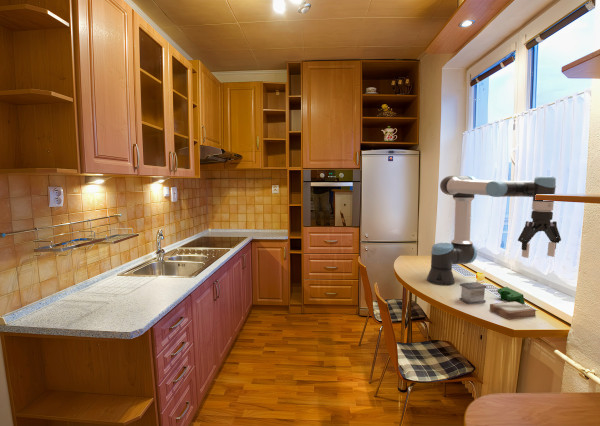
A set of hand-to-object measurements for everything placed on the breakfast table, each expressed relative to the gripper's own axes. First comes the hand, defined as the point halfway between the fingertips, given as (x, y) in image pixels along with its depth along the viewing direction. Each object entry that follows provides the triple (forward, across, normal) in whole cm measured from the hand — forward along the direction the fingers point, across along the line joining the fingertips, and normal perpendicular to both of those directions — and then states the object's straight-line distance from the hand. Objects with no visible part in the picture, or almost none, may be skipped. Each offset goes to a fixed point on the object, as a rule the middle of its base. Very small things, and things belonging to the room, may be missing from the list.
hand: (537, 256), depth 137 cm
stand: (+27, -10, +1) cm, 29 cm away
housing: (+27, -19, +16) cm, 37 cm away
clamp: (+27, 0, +13) cm, 30 cm away
